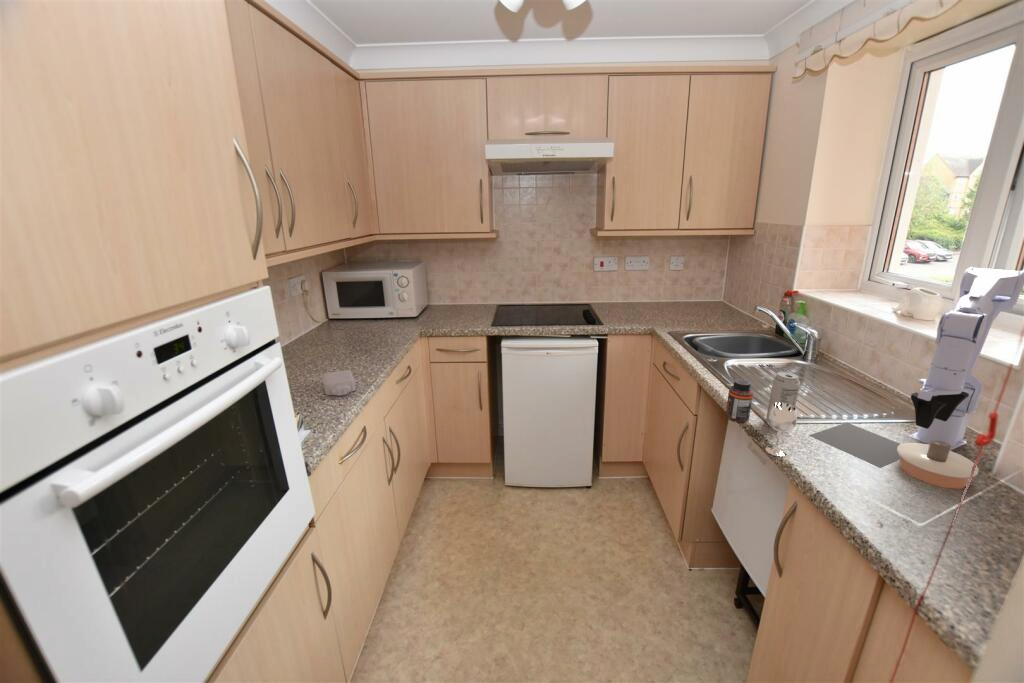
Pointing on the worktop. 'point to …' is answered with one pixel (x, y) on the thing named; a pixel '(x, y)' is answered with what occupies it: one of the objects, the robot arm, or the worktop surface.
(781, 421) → the wineglass
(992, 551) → the worktop surface
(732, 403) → the supplement bottle
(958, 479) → the bowl
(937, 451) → the lid
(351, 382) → the charger
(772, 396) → the energy drink can
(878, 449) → the mat
